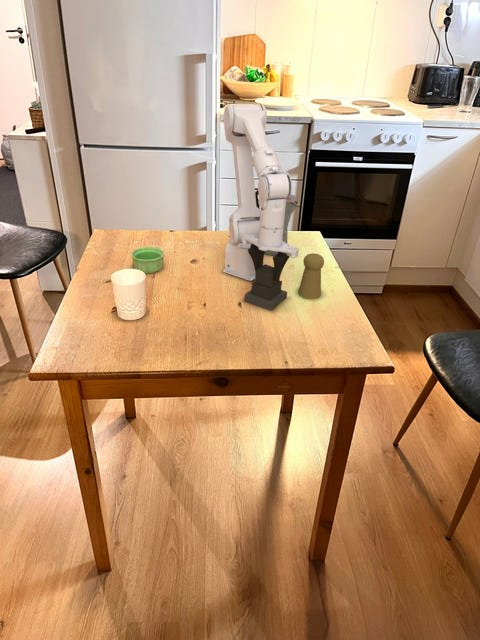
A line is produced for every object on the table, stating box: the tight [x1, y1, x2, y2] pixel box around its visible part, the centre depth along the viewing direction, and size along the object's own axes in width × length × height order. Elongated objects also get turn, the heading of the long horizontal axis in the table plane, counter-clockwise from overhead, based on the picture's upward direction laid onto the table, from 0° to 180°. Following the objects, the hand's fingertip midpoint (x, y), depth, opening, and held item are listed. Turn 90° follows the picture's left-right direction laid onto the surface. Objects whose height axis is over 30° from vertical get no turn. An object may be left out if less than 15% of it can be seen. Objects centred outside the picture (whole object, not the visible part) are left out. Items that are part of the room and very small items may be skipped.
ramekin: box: [131, 246, 165, 274], centre depth 140 cm, size 9×9×4 cm
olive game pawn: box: [298, 252, 325, 300], centre depth 129 cm, size 6×6×11 cm
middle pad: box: [251, 279, 283, 301], centre depth 126 cm, size 6×6×3 cm
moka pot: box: [255, 189, 300, 256], centre depth 149 cm, size 10×15×20 cm, turn 58°
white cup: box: [110, 268, 147, 321], centre depth 117 cm, size 8×8×10 cm
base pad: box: [244, 289, 288, 312], centre depth 128 cm, size 8×8×2 cm
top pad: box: [254, 263, 281, 287], centre depth 124 cm, size 5×5×3 cm
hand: (267, 276), depth 124 cm, fingers closed on top pad, 4 cm apart
